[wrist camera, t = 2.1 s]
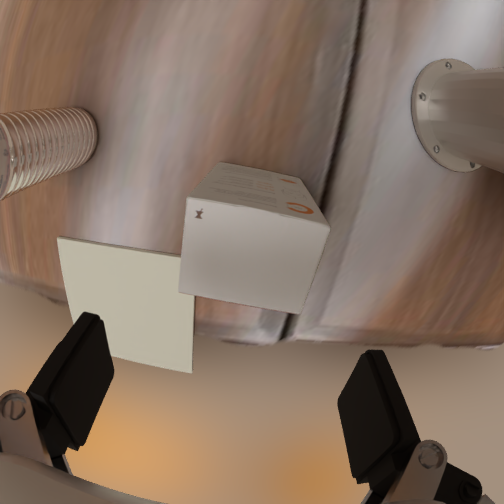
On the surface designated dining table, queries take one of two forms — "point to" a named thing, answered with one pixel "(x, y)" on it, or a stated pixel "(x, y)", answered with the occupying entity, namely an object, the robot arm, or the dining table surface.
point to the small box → (251, 239)
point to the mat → (131, 300)
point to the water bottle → (42, 145)
